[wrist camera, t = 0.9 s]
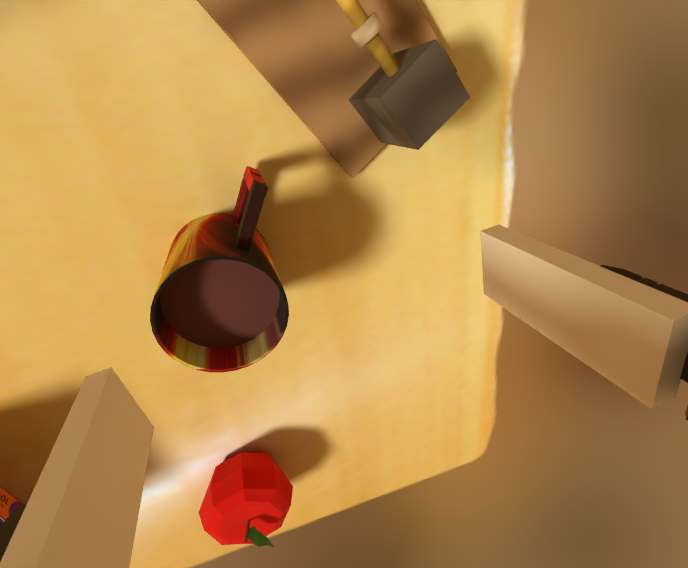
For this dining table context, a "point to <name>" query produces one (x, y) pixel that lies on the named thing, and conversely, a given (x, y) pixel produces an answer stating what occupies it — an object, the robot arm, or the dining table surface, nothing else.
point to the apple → (246, 500)
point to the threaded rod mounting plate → (349, 69)
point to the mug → (221, 289)
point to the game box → (7, 505)
